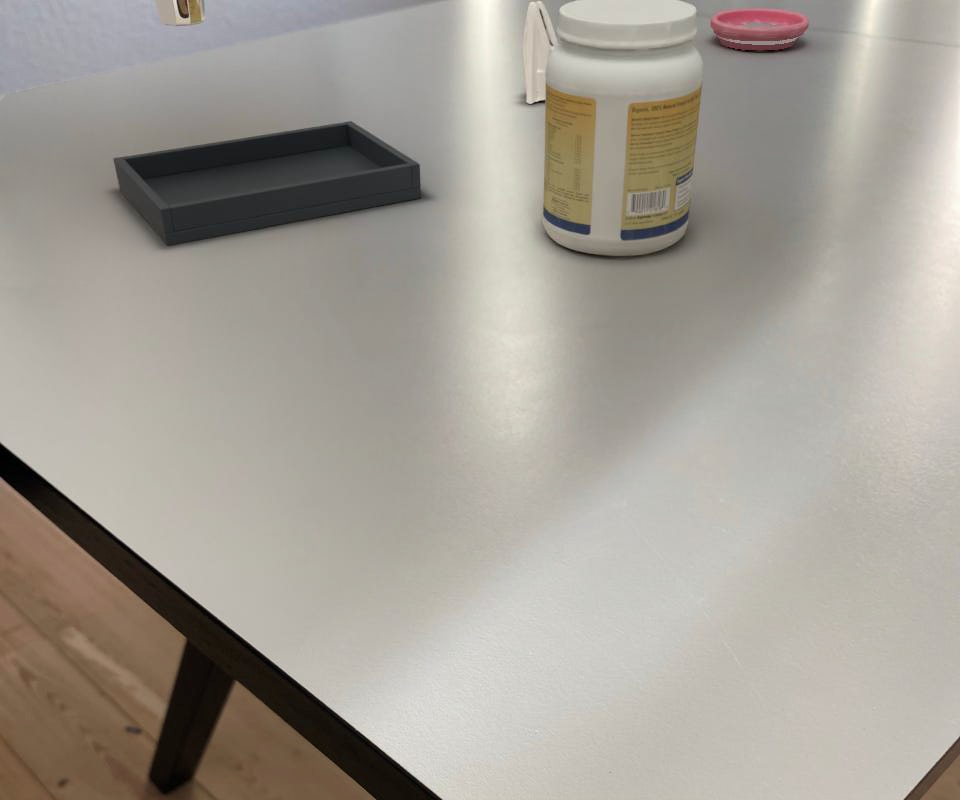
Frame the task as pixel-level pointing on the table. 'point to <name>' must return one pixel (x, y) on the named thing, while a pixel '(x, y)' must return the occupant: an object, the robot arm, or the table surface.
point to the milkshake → (181, 12)
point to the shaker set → (537, 50)
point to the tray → (265, 181)
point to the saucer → (729, 29)
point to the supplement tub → (621, 125)
